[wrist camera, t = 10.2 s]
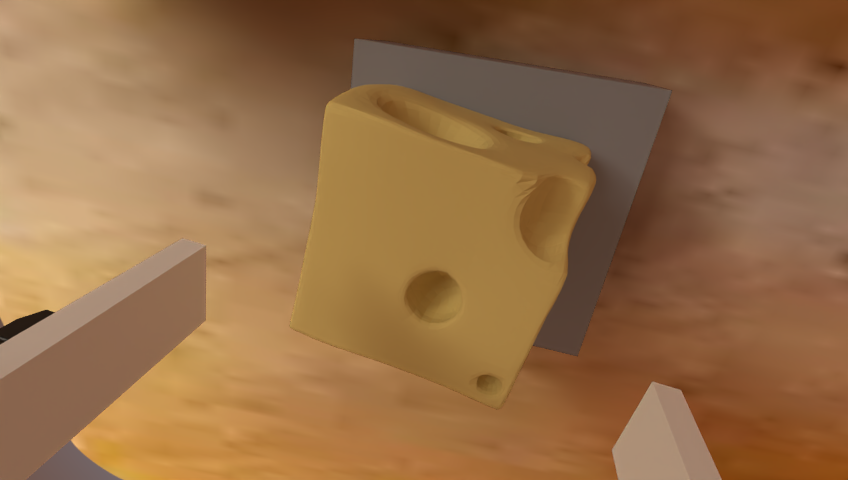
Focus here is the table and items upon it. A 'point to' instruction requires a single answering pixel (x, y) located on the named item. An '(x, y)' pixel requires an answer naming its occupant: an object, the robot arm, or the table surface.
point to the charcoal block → (554, 115)
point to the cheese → (437, 237)
